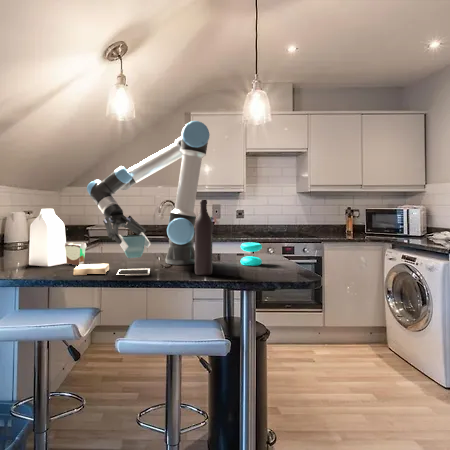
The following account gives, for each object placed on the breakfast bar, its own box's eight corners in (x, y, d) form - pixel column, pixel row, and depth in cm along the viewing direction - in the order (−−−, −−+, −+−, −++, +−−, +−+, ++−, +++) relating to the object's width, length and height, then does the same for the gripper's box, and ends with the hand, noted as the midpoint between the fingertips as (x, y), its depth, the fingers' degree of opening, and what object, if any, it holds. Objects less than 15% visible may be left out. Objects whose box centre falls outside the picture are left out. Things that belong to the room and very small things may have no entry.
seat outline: (149, 269, 165) (149, 268, 165) (149, 274, 152) (149, 273, 152) (119, 270, 163) (119, 269, 163) (116, 275, 150) (116, 274, 150)
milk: (48, 266, 172) (47, 208, 171) (28, 265, 176) (27, 208, 175) (67, 262, 184) (66, 208, 182) (49, 261, 188) (48, 208, 186)
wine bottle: (214, 275, 152) (214, 199, 151) (196, 276, 150) (196, 199, 149) (209, 272, 159) (209, 199, 157) (193, 272, 157) (193, 199, 155)
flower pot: (121, 256, 160) (120, 235, 159) (143, 255, 163) (142, 234, 162) (123, 259, 152) (122, 237, 151) (146, 258, 155) (145, 236, 154)
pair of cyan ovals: (257, 245, 172) (237, 244, 177) (257, 267, 173) (237, 265, 177) (265, 243, 181) (245, 242, 186) (264, 263, 182) (245, 262, 186)
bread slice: (108, 269, 165) (108, 263, 164) (105, 274, 153) (105, 267, 153) (79, 270, 162) (79, 264, 162) (73, 275, 151) (73, 268, 151)
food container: (92, 264, 179) (92, 243, 178) (81, 266, 174) (81, 244, 173) (75, 262, 185) (75, 241, 185) (64, 263, 180) (64, 242, 180)
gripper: (128, 214, 175) (153, 249, 167) (83, 217, 155) (110, 256, 147) (135, 203, 172) (162, 238, 164) (91, 203, 152) (119, 243, 144)
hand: (137, 247), depth 156 cm, fingers closed on flower pot, 12 cm apart
